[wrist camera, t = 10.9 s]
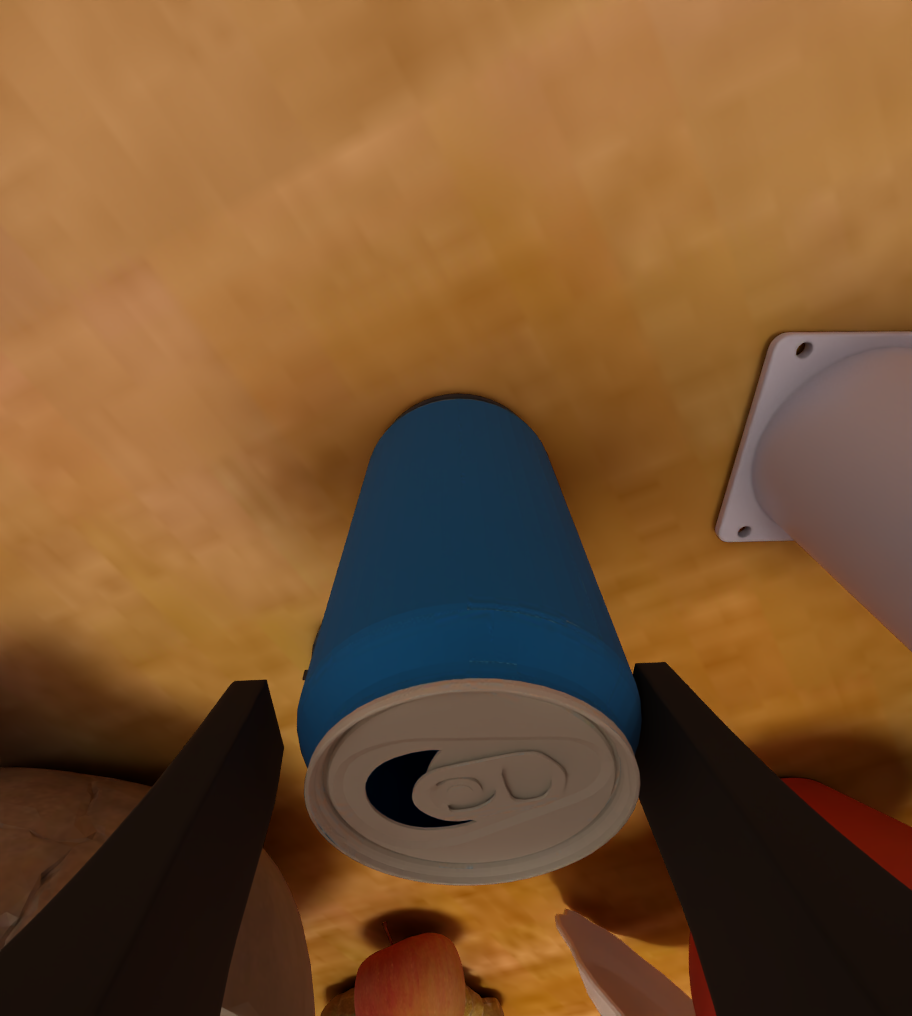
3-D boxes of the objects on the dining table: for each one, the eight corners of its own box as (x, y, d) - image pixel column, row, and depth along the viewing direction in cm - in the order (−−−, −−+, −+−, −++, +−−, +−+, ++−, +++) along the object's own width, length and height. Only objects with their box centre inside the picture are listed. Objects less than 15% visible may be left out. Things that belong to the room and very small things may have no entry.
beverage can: (341, 421, 18) (200, 721, 8) (526, 366, 17) (644, 622, 7) (404, 566, 21) (363, 917, 11) (562, 527, 20) (681, 866, 10)
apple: (503, 1052, 33) (471, 901, 39) (420, 1076, 29) (398, 902, 35) (422, 1083, 36) (404, 937, 42) (335, 1109, 31) (328, 941, 37)
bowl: (274, 649, 23) (181, 911, 15) (383, 929, 37) (368, 1148, 29) (-321, 711, 24) (-743, 999, 15) (5, 964, 38) (-121, 1189, 29)
